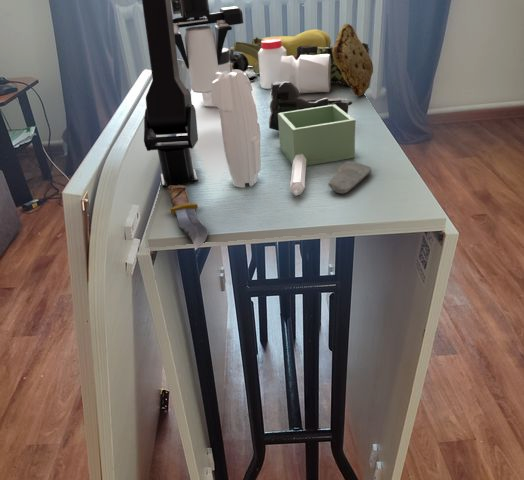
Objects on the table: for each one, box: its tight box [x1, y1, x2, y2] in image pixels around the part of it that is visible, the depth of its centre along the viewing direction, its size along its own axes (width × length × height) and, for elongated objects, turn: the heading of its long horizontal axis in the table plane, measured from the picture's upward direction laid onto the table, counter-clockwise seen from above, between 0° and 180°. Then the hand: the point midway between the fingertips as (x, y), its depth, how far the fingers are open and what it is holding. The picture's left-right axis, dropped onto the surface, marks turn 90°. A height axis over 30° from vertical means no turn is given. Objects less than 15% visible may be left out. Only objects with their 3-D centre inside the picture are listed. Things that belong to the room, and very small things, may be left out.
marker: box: [289, 154, 307, 197], centre depth 92 cm, size 3×2×16 cm
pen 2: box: [306, 97, 349, 104], centre depth 131 cm, size 1×19×1 cm
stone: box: [328, 160, 372, 194], centre depth 91 cm, size 12×2×5 cm
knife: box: [167, 184, 209, 251], centre depth 85 cm, size 25×1×5 cm
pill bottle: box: [258, 38, 287, 90], centre depth 145 cm, size 8×8×11 cm
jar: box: [201, 47, 232, 108], centre depth 136 cm, size 9×8×12 cm
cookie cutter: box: [233, 36, 263, 75], centre depth 155 cm, size 18×12×2 cm, turn 29°
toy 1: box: [229, 46, 249, 73], centre depth 157 cm, size 7×7×15 cm
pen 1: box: [248, 75, 259, 82], centre depth 153 cm, size 14×2×1 cm, turn 127°
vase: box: [280, 54, 331, 94], centre depth 137 cm, size 9×9×12 cm
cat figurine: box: [268, 81, 353, 132], centre depth 118 cm, size 10×14×18 cm
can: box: [184, 25, 219, 94], centre depth 116 cm, size 6×6×12 cm
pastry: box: [332, 22, 374, 97], centre depth 130 cm, size 17×17×3 cm
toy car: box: [297, 42, 370, 87], centre depth 142 cm, size 9×19×10 cm
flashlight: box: [212, 69, 262, 188], centre depth 89 cm, size 7×18×7 cm
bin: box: [278, 104, 356, 167], centre depth 102 cm, size 12×12×7 cm
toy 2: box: [240, 29, 332, 68], centre depth 165 cm, size 14×9×30 cm
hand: (203, 66), depth 117 cm, fingers closed on can, 6 cm apart
